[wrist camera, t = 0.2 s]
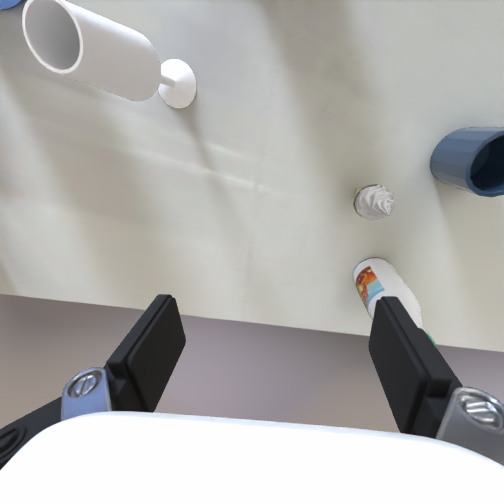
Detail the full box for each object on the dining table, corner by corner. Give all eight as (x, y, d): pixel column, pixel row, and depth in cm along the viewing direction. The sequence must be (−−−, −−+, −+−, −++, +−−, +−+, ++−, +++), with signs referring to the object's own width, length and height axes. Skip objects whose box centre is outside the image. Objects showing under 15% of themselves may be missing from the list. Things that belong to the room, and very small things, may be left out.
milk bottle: (378, 249, 48) (432, 320, 31) (399, 275, 50) (462, 356, 33) (344, 271, 51) (375, 347, 34) (366, 295, 53) (406, 378, 36)
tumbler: (421, 152, 40) (455, 158, 32) (478, 114, 37) (531, 111, 29) (442, 193, 42) (478, 208, 35) (497, 161, 39) (551, 169, 31)
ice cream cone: (378, 187, 43) (420, 213, 30) (355, 209, 45) (385, 242, 32) (358, 168, 42) (392, 187, 29) (336, 191, 44) (358, 218, 31)
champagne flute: (178, 118, 42) (70, 108, 21) (148, 82, 40) (-5, 32, 19) (205, 86, 40) (112, 38, 18) (174, 47, 38) (31, -56, 16)
